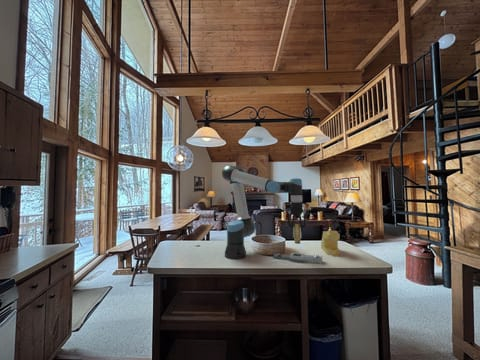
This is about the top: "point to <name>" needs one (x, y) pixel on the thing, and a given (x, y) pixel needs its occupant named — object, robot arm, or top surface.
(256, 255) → the top surface
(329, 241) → the yellow irregular block
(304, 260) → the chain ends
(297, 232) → the pin
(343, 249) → the top surface
